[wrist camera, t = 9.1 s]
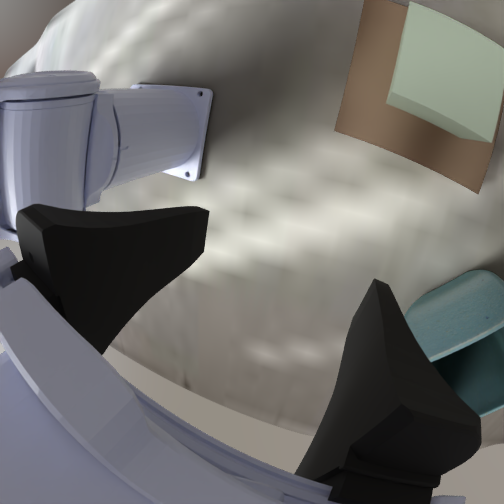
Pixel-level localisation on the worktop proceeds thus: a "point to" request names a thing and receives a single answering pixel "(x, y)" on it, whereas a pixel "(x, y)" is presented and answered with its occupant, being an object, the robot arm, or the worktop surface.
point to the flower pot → (465, 336)
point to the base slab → (396, 120)
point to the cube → (448, 75)
